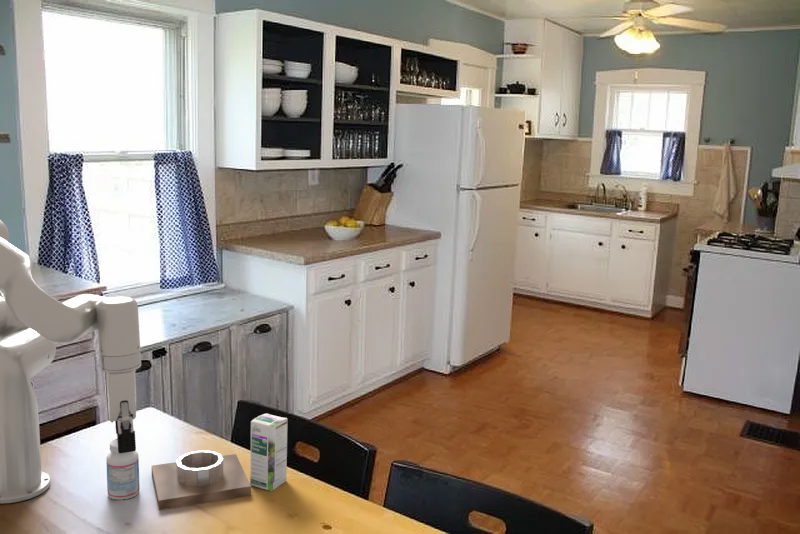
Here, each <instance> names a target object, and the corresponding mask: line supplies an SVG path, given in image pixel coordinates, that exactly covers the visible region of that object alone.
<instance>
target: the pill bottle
mask: <svg viewBox="0 0 800 534" xmlns="http://www.w3.org/2000/svg"><path fill="white" fill-rule="evenodd" d="M109 451H110V452H109V453H108V454H107V456H106V461H105V462H106V487H107V490H106V491H107V496H108V498H110V499H111V498H112V500H115V499H116V501H124V500H123V499H126V500H128V499H129V498H130V499H133V498H134V497H135V496H137V495H138V494H139V492H140V490H141V489H140V462H139V452H138V451H137V449H136V450H135V451H133V452H127V453H119V452H118V440H117V438H114V439H112V440H111V441H110V442H109ZM130 499H129V500H130Z"/></svg>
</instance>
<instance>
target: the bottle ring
mask: <svg viewBox="0 0 800 534" xmlns="http://www.w3.org/2000/svg"><path fill="white" fill-rule="evenodd" d="M222 456H223V455H222V454H221V453H219V452H216V451H213V450H204V449H201V450H194V451H189V452H187V453H184V454H182V455H181V456H179V457H178V458H177V459H176V460H175V462H176V470H177V480H178V482H180V483H182V484H184V485H187V486H204V485H209V484H212V483H214V482H216V481H219V480H220V479H221V477H222V476H223V458H222ZM200 467H205V468H200ZM197 468H198V469H197Z"/></svg>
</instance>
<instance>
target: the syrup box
mask: <svg viewBox="0 0 800 534" xmlns="http://www.w3.org/2000/svg"><path fill="white" fill-rule="evenodd" d="M287 457H288V418H287V417H283V416H282V417H281V416H277V415H273V414H270V413H263V414H261V415H258V416H257V417H254V418H253V419H252V420H251V421H250V477H249V480H250V481H249V483H250V485H251V487H255V488H260V489H262V490H266V491H269V492H273V491H275V490H276V489H277V488H279V487H280V486H282V484H284V483H286V481H287V468H288V467H287V466H288V465H287V463H288V462H287V460H288V459H287Z"/></svg>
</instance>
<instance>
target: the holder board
mask: <svg viewBox="0 0 800 534" xmlns="http://www.w3.org/2000/svg"><path fill="white" fill-rule="evenodd" d="M222 458H223V476H222V477H221V479H220V480H219V481H216V482H214V483H212V484H209V485H204V486H187V485H184V484H182V483H180V482H178V480H177V470H176V461H174V462H169V463H161V464H154V465H153V464H152V465H151V477H152V481H153V482H152V483H153V487H154V493H155V499H156V502H157V507H158V511H161V510H167V509H174V508H180V507H186V506H192V505H199V504H206V503H211V502H217V501H224V500H229V499H230V500H231V499H236V498H242V497H247V496H252V486H251V485H250V481H249V479H248V477H247V475H246V473H245V471H244V469H243V466H242V464H241V462H240V460H239V457H238V455H237V454H236V453H232V454H227V455H226V454H225V455H222ZM200 468H205V467H200ZM197 469H198V468H197Z"/></svg>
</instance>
